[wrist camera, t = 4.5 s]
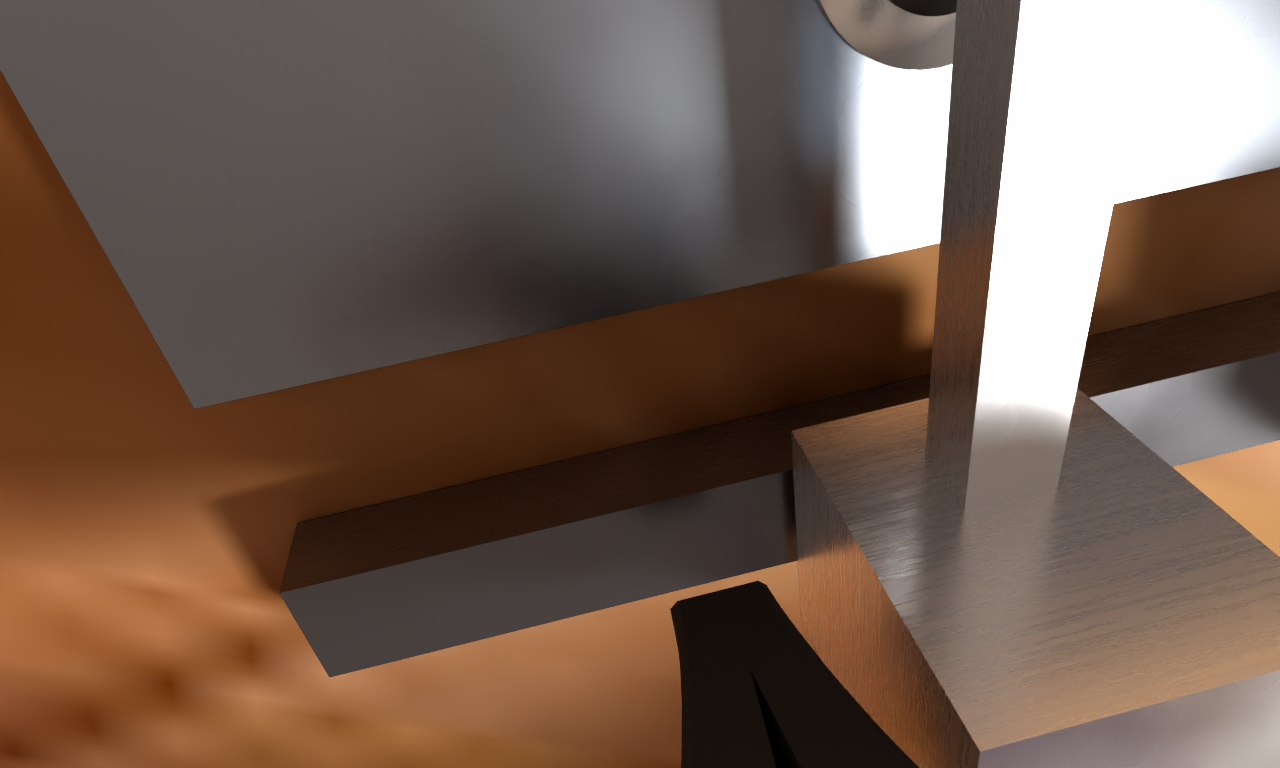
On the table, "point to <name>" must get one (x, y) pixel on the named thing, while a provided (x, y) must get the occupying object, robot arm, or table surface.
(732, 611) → the robot arm
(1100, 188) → the sliding divider leg
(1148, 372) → the bar
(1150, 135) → the bolt hole plate
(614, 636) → the table surface
